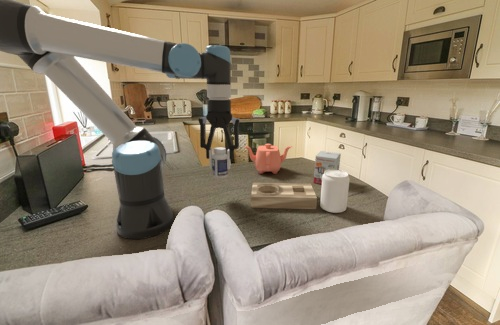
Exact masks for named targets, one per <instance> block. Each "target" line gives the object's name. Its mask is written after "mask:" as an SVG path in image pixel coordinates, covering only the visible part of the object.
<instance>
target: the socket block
mask: <svg viewBox="0 0 500 325" xmlns="http://www.w3.org/2000/svg"><path fill="white" fill-rule="evenodd" d="M317 202H318V197H317V195H316V192H315V190H314V188H313V186H312V183H288V182H287V183H286V182H285V183H284V182H283V183H282V182H252V188H251V194H250V208H251V209H286V210H287V209H289V210H291V209H293V210H317Z"/></svg>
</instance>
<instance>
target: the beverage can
mask: <svg viewBox="0 0 500 325" xmlns="http://www.w3.org/2000/svg"><path fill="white" fill-rule="evenodd" d="M350 180H351V179H350V176H349V173H348V172H346V171H344V170H340V169H339V170H327V171H325V172H324V174H323V176H322V184H321V189H320V202H319V203H320V204H319V206H320V208H321V209H322V210H324V211H326V212H328V213H334V214H338V213H343V212H345V211H346V210H347V205H348V197H349V188H350Z"/></svg>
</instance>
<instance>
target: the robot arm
mask: <svg viewBox="0 0 500 325" xmlns="http://www.w3.org/2000/svg"><path fill="white" fill-rule="evenodd" d="M0 52H3V53H6V54H9V55H15V56H18V58H20V59H21V61H23V62H24V63H25V65H27V66H28V68H30V69H31V70H32V71H33V72H34V73H36V74H39V75H45V76H46V77H47V78H48V79H49V80H50V81H51V82H52V83H53V84H54V85H55V86H56V88H58V89H59V90H60V92H62V93H63V94H64V95H65V96H66V97H67V98H68V99H69V100H70V101H71V102H72V104H74V105H75V106H76V108H77V109H79V111H81V113H83V115H85V117H87V119H88V120H89V121H90V122H91V123H92V124H93V125H94V126H95V127H96V128H97V129H98V130H99V131H100V132H101V133H102V134H103V135H104V136H105V137H106V138H107V139H108V140H109V141H110V142H111V143H112V152H111V164H112V168H113V172H114V177H115V178H114V179H115V184H116V188H117V194H118V199H119V209H118V213H117V218H116V225H115V226H116V231H117V234H118V235H119V236H120V237H123V238H124V239H129V240H139V239H141V240H143V239H147V238H151V237H154V236H158V235H161V233H165V232H166V231H167V230H169V229H170V228H171V227H172V226H173V224H174V222H173V221H174V211H173V210H172V208H171V206H170V204H169V202H168V200H167V198H166V194H165V188H164V187H165V186H164V179H163V168H164V166H165V163H166V161H167V150H166V148H165V146H164V145H165V144H163V142H162V141H161V140H160V139H158V138H156V137H155V136H153V135H152V134H151V133H150V132H149V131H148V130H147V129H146V128H145V127H144V126H139V125H136V124H135V123H134V121H132V120H131V118H130V117H129V116H128V115H127V114H126V113H125V112H124V111H123V110H122V108H121V107H120V106H119V105H118V104H117V103H116V102H115V100H113V99H112V98H111V96H110V95H109V94H108V92H106V91H105V90H104V88H102V87H101V85H100V84H99V83H98V82H97V80H95V79H94V78H93V77H92V75H91V74H89V72H88V71H87V70H86V69H85V68H84V67H83V65H82V64H80V62H79V61H78V60H77V59H76V57H77V58H81V59H86V60H87V59H88V60H93V61H99V62H103V63H104V62H105V63H109V64H114V65H119V66H124V67H130V68H134V69H141V70H146V71H152V72H155V73H161V74H165V75H166V77H167V78H170V79H177V80H180V79H181V80H182V79H187V80H188V79H189V80H190V79H194V80H198V79H199V80H200V79H201V80H206V98H208V99H207V102H206V104H207V105H206V106H207V108H206V110H207V113H206V116H203V117H200V118H198V124H199V127H200V129H199V132H200V134H199V137H200V138H199V139H200V142H199V143H200V146H199V147H200V148H201V149H205V152H206V154H205V155H206V159H207V160H209V163H208V164H209V170H210V169H211V170H212V156H213V155H214V148H212V144H213V140H214V136H215V132H216V130H217V129H222V130H223V133H224V136H225V139H226V142H227V145H228V149H226V154H227V169H228V170H231V166H232V165H231V160H234V157H235V156H234V150H237V149H239V147H240V137H239V135H240V134H239V132H240V131H239V125H240V122H241V119H240V118H239V117H238V118H236V117H234V116H233V115H232V107H231V106H232V102H231V99H230V98H231V97H232V92H231V91H232V90H231V89H232V86H231V80H232V79H231V78H232V77H231V75H232V74H231V70H232V60H231V49H230V48H229V47H228V46H225V45H220V44H219V45H218V44H216V45H214V44H213V45H211V44H210V45H206V47H205V51H204V52H199V51H198V50H197V49H196V48H195V47H194V46H193V45H192V44H189V43H186V42H181V43H175V42H171V41H167V40H166V41H165V40H162V39H158V38H153V37H150V36H145V35H141V34H136V33H131V32H128V31H123V30H118V29H115V28H110V27H105V26H101V25H97V24H93V23H89V22H83V21H78V20H75V19H69V18H65V17H61V16H57V15H52V14H48V13H45V12H44V11H43V9H42V8H41V7H39V6H36V5H31V4H28V3H23V2H20V1H17V0H0ZM207 121H208V123H209V125H210V128H209V129H210V130H209V133H208V137H207V140H206V135H207V134H206V128H207V127H206V124H207ZM231 121H232V124H233V135H234V136H233V139H234V143H233V139H232V136H231V132H230V128H229V125H230V123H231ZM206 141H207V142H206ZM172 223H173V224H172Z"/></svg>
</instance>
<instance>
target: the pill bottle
mask: <svg viewBox="0 0 500 325" xmlns="http://www.w3.org/2000/svg"><path fill="white" fill-rule="evenodd" d="M211 170H212V171H211V172H212V177H213V178H217V179H219V178H220V179H224V178H226V177H228V176H229V169H227V149H226V147H220V146H217V147H214V148H213V156H212V169H211Z"/></svg>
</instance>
